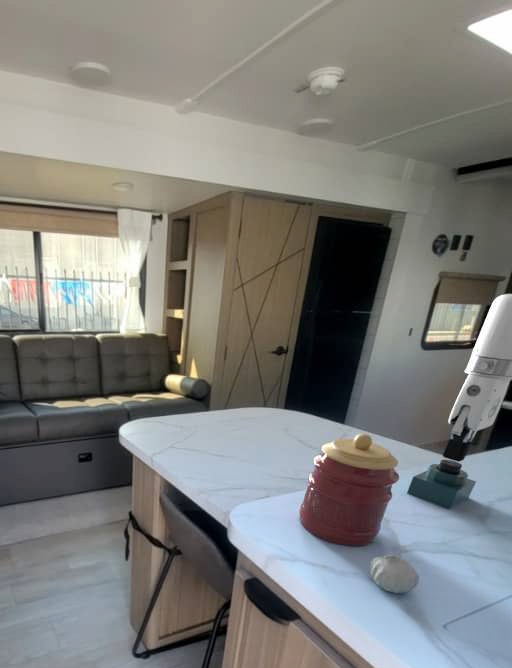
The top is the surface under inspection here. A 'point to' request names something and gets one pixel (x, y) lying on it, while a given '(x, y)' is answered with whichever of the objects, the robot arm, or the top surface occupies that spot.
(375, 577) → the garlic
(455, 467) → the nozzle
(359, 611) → the top surface
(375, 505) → the kitchen canister
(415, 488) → the green push button box
